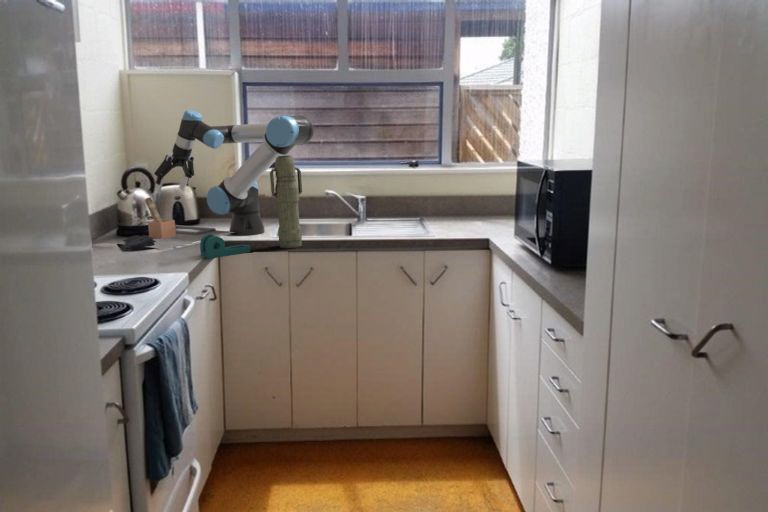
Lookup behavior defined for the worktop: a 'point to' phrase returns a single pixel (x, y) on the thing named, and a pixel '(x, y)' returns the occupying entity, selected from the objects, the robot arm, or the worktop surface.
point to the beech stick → (153, 210)
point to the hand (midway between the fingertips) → (169, 190)
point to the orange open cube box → (162, 229)
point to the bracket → (219, 247)
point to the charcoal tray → (204, 229)
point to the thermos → (287, 201)
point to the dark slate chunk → (137, 243)
